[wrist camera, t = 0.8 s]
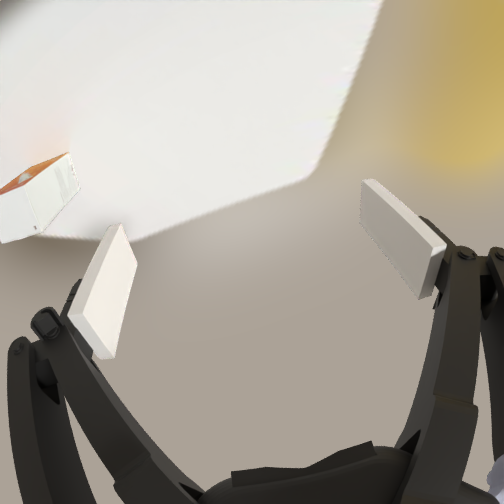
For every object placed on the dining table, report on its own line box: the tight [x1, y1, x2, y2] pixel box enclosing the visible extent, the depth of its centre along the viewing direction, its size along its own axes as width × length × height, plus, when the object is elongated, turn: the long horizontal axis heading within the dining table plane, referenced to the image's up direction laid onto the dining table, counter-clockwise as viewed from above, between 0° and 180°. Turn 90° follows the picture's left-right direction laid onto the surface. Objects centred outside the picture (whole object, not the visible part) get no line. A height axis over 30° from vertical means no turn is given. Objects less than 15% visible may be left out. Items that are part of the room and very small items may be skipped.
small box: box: [0, 152, 81, 244], centre depth 31 cm, size 8×6×13 cm
